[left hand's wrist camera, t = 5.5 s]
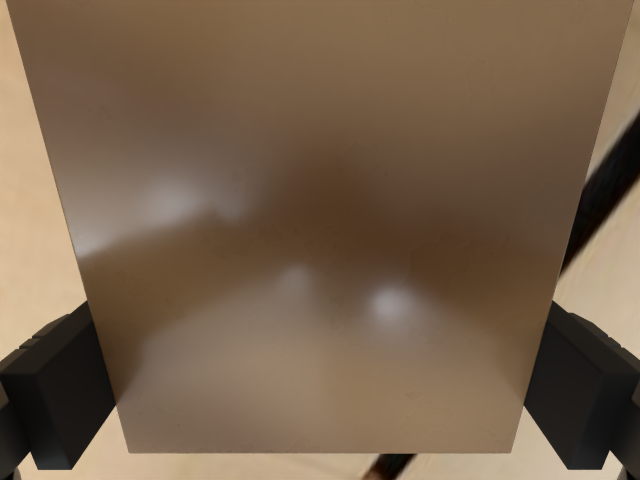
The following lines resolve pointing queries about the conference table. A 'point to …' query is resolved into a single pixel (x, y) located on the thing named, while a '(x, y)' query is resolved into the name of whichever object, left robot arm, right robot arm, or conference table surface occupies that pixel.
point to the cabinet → (319, 208)
